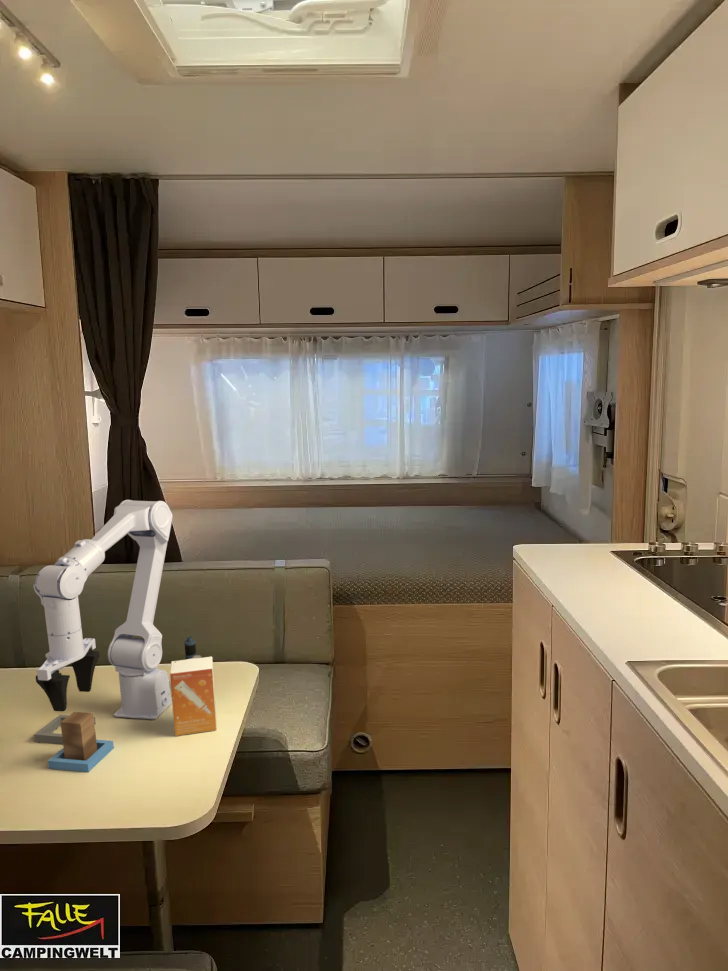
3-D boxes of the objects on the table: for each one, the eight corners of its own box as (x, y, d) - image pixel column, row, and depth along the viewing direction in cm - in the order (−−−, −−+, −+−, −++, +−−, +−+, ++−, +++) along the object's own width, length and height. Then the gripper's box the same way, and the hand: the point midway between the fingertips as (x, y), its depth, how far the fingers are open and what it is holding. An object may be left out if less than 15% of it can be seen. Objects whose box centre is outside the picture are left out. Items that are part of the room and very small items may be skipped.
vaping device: (195, 685, 157) (191, 634, 155) (208, 691, 153) (204, 640, 151) (185, 688, 155) (181, 637, 153) (198, 696, 151) (193, 643, 149)
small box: (174, 737, 134) (169, 673, 132) (176, 721, 140) (170, 660, 138) (217, 731, 136) (212, 667, 134) (217, 715, 142) (212, 655, 140)
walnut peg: (97, 753, 129) (93, 712, 128) (85, 765, 125) (80, 723, 124) (78, 751, 130) (73, 711, 129) (65, 763, 126) (60, 722, 125)
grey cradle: (95, 724, 140) (95, 717, 140) (71, 744, 133) (70, 737, 132) (60, 721, 142) (59, 714, 142) (34, 741, 134) (33, 734, 134)
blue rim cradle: (113, 748, 131) (113, 740, 131) (88, 772, 123) (87, 764, 123) (76, 745, 132) (75, 737, 132) (48, 768, 125) (47, 760, 125)
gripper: (69, 615, 134) (76, 682, 136) (18, 644, 120) (27, 718, 122) (102, 616, 132) (109, 683, 135) (54, 646, 118) (63, 720, 121)
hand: (72, 700), depth 128 cm, fingers open, 7 cm apart
